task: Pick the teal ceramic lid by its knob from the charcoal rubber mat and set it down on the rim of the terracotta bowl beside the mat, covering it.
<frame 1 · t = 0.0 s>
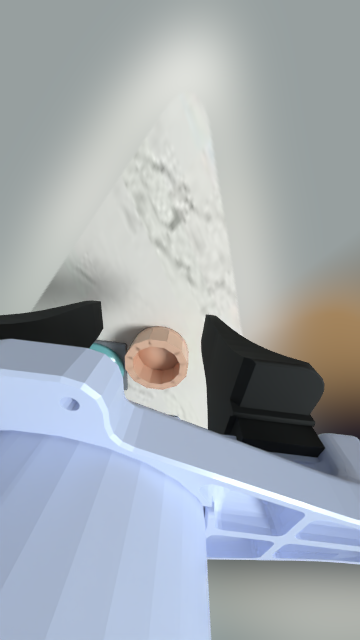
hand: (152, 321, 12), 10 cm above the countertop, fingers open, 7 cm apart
lid: (96, 365, 27), resting on mat
mat: (98, 364, 27), on the countertop
bowl: (160, 350, 25), on the countertop
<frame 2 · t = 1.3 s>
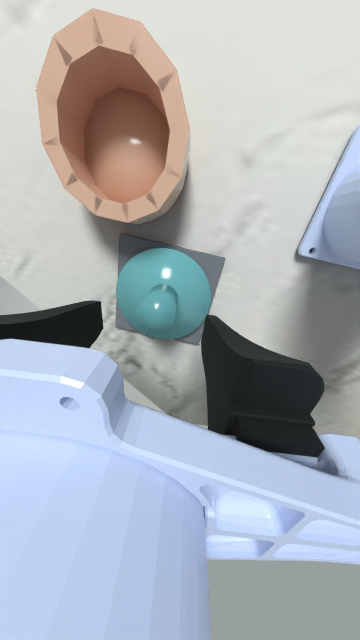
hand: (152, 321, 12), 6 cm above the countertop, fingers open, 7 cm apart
lid: (164, 296, 17), resting on mat
mat: (164, 295, 17), on the countertop
bowl: (132, 159, 13), on the countertop
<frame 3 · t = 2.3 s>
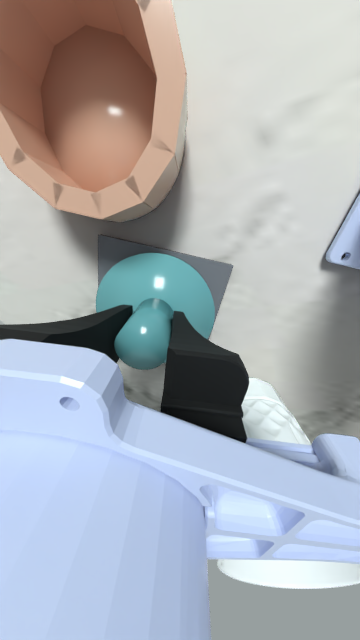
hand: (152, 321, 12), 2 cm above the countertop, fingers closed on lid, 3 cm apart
lid: (156, 312, 13), resting on mat, touching gripper
white cup: (242, 399, 18), on the countertop
mat: (157, 310, 14), on the countertop
bowl: (110, 135, 9), on the countertop
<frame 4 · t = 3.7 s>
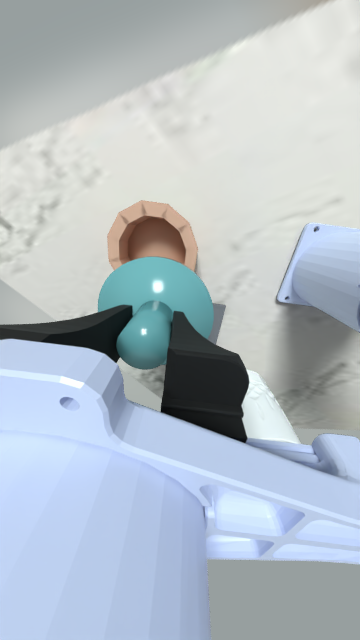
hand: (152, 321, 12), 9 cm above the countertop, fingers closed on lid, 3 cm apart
lid: (157, 314, 14), point 8 cm above the countertop, touching gripper
white cup: (240, 384, 27), on the countertop
mat: (183, 332, 23), on the countertop
bowl: (158, 251, 19), on the countertop
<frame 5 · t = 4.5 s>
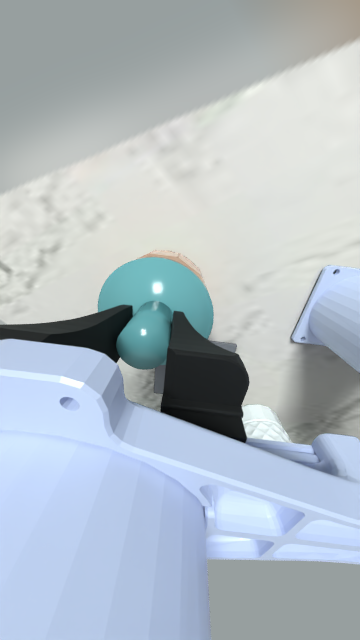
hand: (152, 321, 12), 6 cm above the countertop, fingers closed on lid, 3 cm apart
lid: (157, 314, 14), point 5 cm above the countertop, touching gripper
white cup: (251, 417, 26), on the countertop
mat: (191, 369, 22), on the countertop
bowl: (165, 292, 18), on the countertop
when the fingers open (6 cm above the countertop, at t = 4.9 s): lid stays where it is, resting on bowl.
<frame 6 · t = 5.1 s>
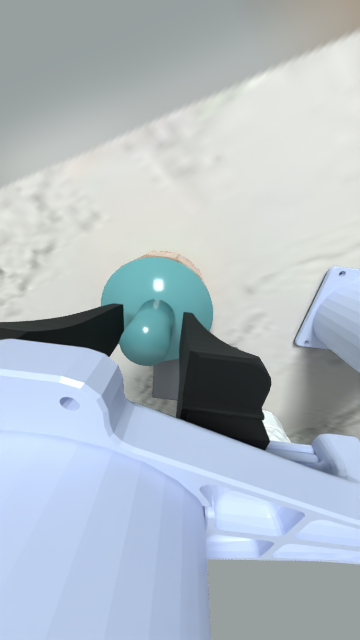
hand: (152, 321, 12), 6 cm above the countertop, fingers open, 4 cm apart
lid: (158, 312, 14), point 3 cm above the countertop, touching bowl
white cup: (252, 422, 25), on the countertop
mat: (191, 373, 21), on the countertop
bowl: (164, 295, 17), on the countertop
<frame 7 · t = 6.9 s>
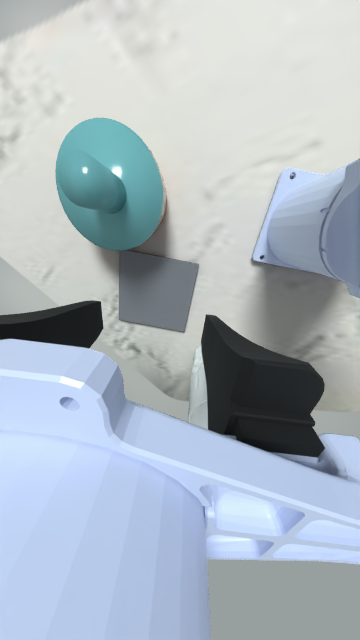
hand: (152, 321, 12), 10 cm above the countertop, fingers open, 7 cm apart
lid: (113, 195, 15), point 3 cm above the countertop, touching bowl
white cup: (216, 356, 26), on the countertop
mat: (155, 293, 22), on the countertop
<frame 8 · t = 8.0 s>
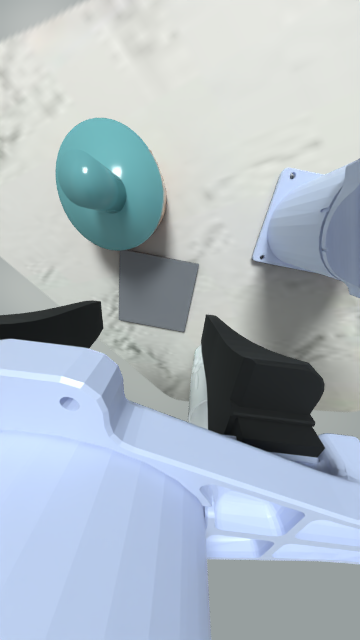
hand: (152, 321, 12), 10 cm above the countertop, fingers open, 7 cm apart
lid: (113, 195, 15), point 3 cm above the countertop, touching bowl
white cup: (216, 356, 26), on the countertop
mat: (155, 293, 22), on the countertop
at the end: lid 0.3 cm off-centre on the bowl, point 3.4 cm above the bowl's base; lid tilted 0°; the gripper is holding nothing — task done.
